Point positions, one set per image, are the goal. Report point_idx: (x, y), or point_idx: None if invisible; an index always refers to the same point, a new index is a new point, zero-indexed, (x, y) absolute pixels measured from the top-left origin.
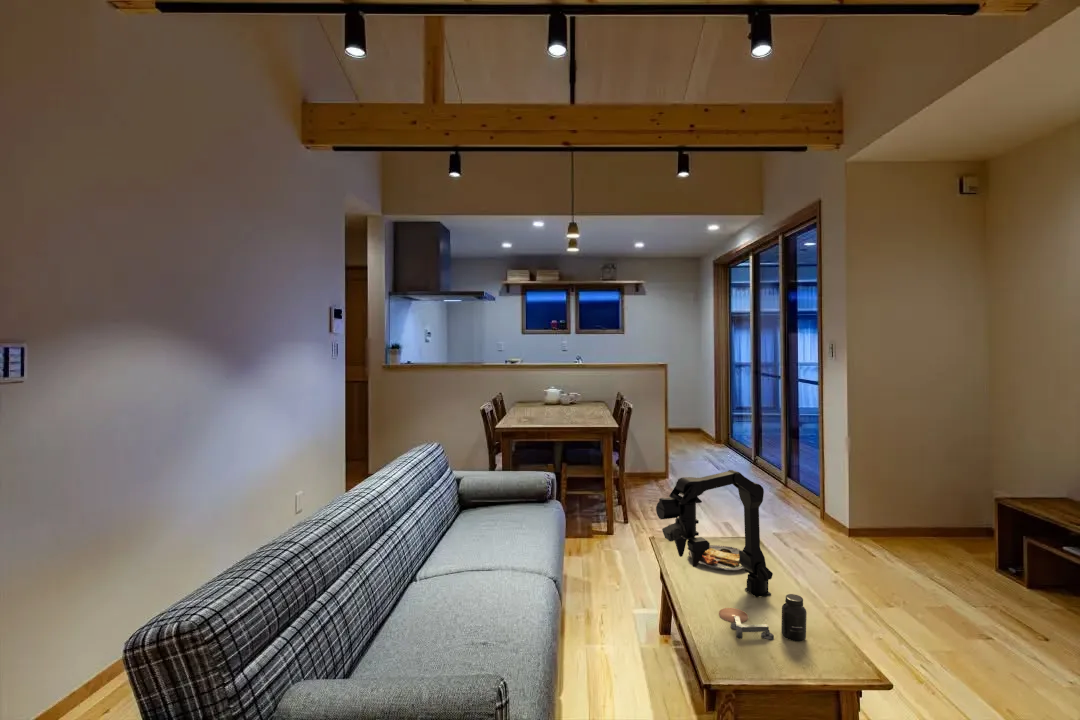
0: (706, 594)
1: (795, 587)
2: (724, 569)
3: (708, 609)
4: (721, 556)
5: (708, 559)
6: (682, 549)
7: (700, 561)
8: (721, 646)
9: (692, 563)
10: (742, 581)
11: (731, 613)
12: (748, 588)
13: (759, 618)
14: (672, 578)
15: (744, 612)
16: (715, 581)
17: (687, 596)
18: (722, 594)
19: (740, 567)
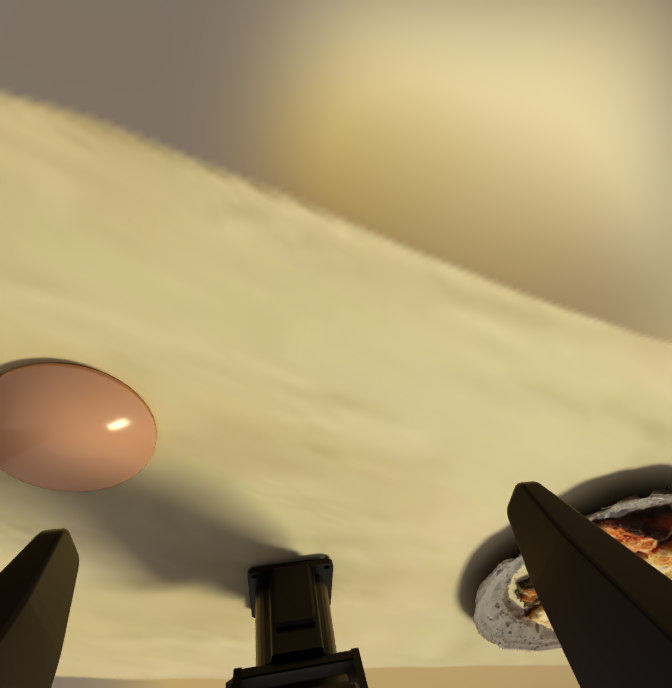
0: (352, 408)
1: None
2: (507, 559)
3: (170, 342)
4: None
5: (624, 539)
6: (575, 625)
7: (631, 510)
8: None
9: (26, 583)
10: (402, 570)
11: (82, 432)
12: (294, 580)
13: (34, 518)
14: (605, 325)
15: (90, 488)
16: (455, 492)
17: (370, 302)
18: (324, 472)
19: (493, 602)
